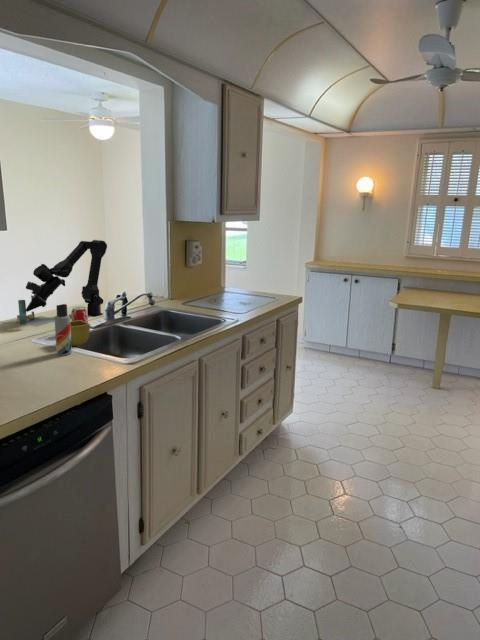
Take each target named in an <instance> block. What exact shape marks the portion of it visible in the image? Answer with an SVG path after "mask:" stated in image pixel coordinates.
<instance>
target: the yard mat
mask: <svg viewBox="0 0 480 640" xmlns="http://www.w3.org/2000/svg"><path fill="white" fill-rule="evenodd" d="M36 317H37V318H39V319H37V320H28V321H27V323H25V324H24V325H27V326H28V325H29V326H33V327H40V326H44V325H48V324H51V323H55V318H52V317H47V316H43V315H39V316H36ZM17 323H18V324H21V323H20V322H17Z"/></svg>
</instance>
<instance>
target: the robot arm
mask: <svg viewBox="0 0 480 640" xmlns="http://www.w3.org/2000/svg"><path fill="white" fill-rule="evenodd" d="M107 248H108V244H107V243H106V241H105V240H99V239H92V241H87V240H81V241H80V242H78V245H77V246H76V247H75V248H74V249H73V250H72V251H70V253H69V254H68V255H67V257H66V258H64V259H63V260H60V261H59V262H57V263H56V264H55V265H54V266H53V267H51V268H49V267H48V266H47V265H46V264H44V263H41V265H39V266H37V267H35V268H34V270H33V275H34V276H35V277H36V278H37V279H39V280H40V281H41V282H43V283H42V284H40V285H39V284H37V282H36V283H35V282H33V281H32V282H31V281H27V283H26V286H25V289H26V290H30V291H31V295H30V296H31V297H30V299H31V300H30V302H29V303H28V305H27V306H26V313H28V312H30V311H33V310H35V309H38V308H40V307H42V308H45V307H46V306H47V300H48V298H49V297H50V296H51V295H53V294H54V293H55V292H56V290H57V289H58V288H59V287H60V286H63V287H66V280H65V279H64V278H69V276H70V275H71V273H72V271H73V267H74V266H75V264H76V263H77V262H78V261H79V260H80V259H81V257H82V256H83V255H84V254H85V253H86V252H87V251H88V250H89V252H90V255H91V260H90V265H89V266H90V267H89V272H88V279H87V284H86V285H85V286H82V290H81V297H82V299H83V300H84V303H85V304H87V307H86V310H87V312H88V317H89V316H91V317H97V316H102V315H104V312H102V311H101V310H102V309H101V307H102V305H103V304H104V299H103V298H102V297H101V296H100V289H99V287H98V283H99V276H100V271H101V265H102V260H103V259H102V258H103V257H104V256H105V255H106V252H107ZM61 278H62V279H61ZM32 294H33V295H32Z"/></svg>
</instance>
